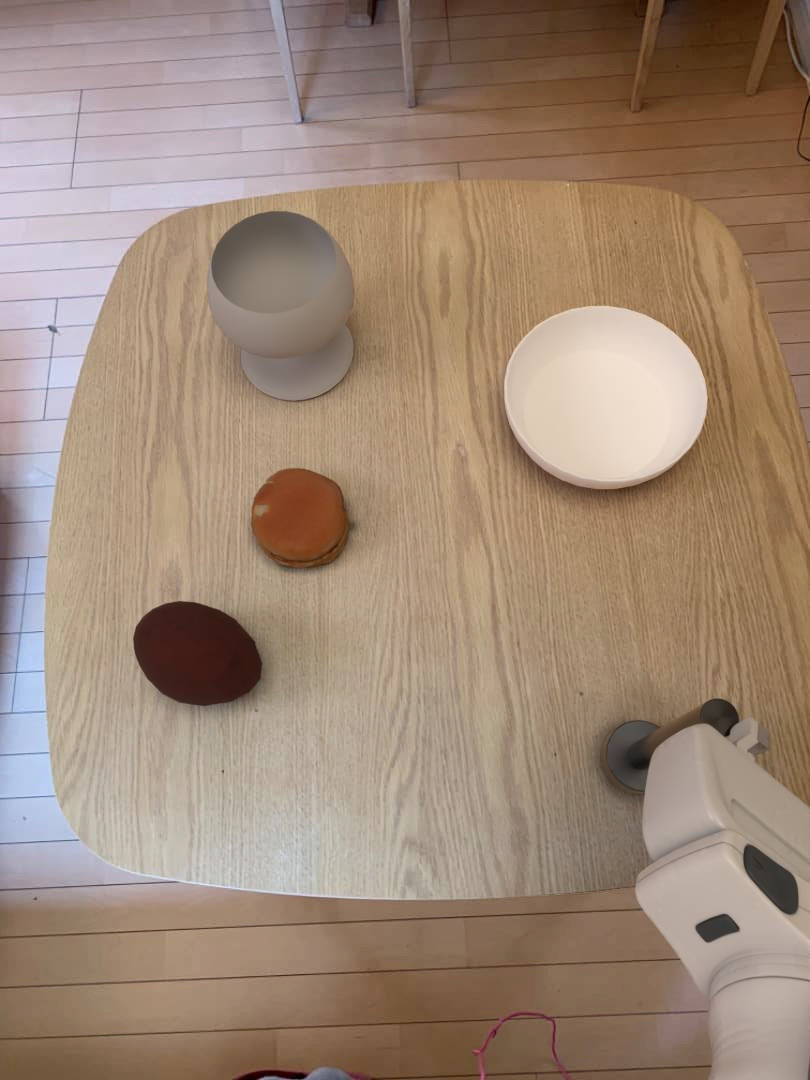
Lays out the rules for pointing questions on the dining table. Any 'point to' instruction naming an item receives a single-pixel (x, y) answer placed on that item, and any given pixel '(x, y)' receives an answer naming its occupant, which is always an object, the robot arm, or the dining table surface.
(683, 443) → the bowl
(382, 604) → the dining table surface
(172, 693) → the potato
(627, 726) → the rod on round base
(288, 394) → the chalice
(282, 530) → the burger
